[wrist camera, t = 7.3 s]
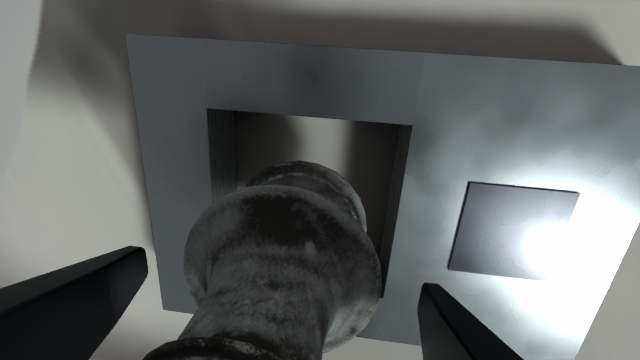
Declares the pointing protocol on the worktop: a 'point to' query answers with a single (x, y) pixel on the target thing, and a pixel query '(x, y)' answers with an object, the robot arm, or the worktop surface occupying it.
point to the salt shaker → (278, 270)
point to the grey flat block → (420, 171)
